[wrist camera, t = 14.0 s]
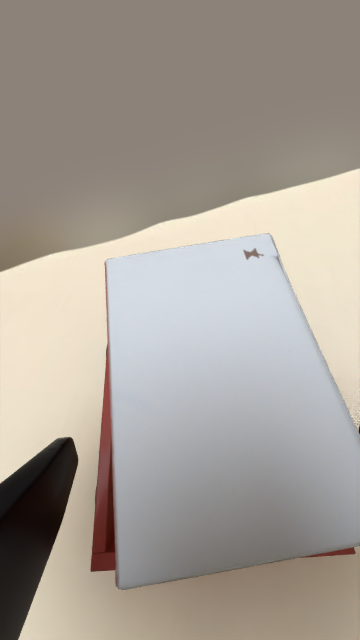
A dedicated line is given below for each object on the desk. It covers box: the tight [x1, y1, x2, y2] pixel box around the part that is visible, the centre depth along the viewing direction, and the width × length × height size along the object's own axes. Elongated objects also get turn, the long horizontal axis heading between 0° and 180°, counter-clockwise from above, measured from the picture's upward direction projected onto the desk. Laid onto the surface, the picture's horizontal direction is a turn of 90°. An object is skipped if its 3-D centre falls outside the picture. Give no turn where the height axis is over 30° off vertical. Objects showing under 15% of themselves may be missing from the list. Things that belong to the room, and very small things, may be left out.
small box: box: [105, 233, 360, 590], centre depth 11 cm, size 8×6×10 cm
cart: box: [91, 344, 355, 572], centre depth 16 cm, size 18×13×4 cm
